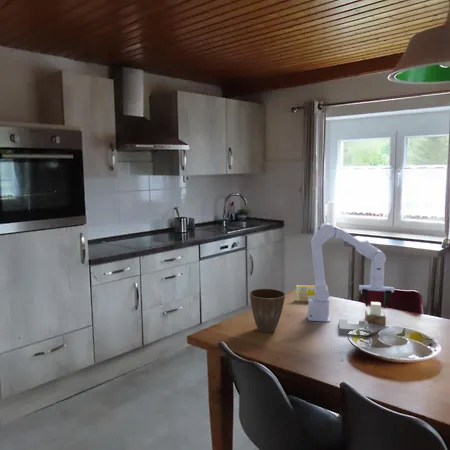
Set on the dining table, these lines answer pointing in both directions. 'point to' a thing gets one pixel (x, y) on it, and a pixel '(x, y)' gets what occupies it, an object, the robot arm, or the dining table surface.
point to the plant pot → (267, 308)
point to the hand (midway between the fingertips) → (375, 306)
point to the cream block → (375, 308)
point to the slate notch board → (352, 326)
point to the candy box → (304, 292)
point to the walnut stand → (375, 318)
